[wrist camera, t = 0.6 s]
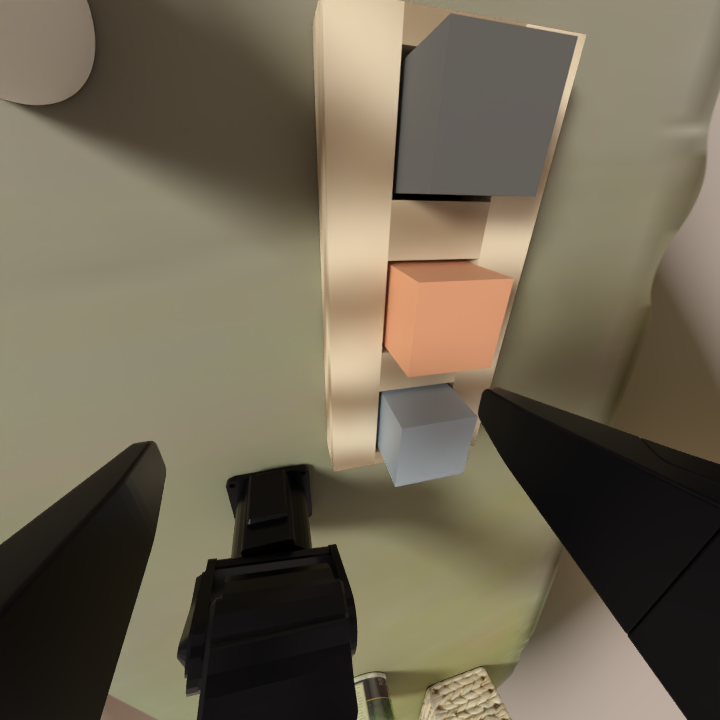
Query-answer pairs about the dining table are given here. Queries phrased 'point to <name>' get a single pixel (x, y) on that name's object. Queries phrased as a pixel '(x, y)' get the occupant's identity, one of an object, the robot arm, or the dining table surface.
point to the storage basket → (464, 699)
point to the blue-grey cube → (423, 432)
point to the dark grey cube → (479, 108)
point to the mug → (44, 49)
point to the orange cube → (443, 315)
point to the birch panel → (391, 213)
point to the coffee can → (373, 697)
